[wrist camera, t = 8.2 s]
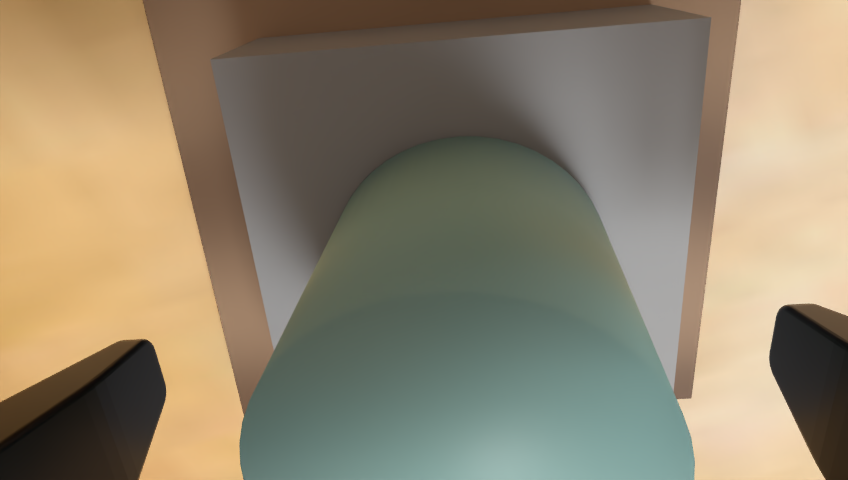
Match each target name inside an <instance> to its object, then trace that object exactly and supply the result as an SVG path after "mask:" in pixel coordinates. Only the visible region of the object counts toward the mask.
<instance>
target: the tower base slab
mask: <svg viewBox="0 0 848 480" xmlns="http://www.w3.org/2000/svg"><path fill="white" fill-rule="evenodd" d="M143 3H144V8H145V12H146V16H147V20H148V24H149V28H150V32H151V36H152V40H153V44H154V49H155V53H156V57H157V61H158V65H159V69H160V73H161V77H162V81H163V85H164V90H165V94H166V98H167V102H168V106H169V110H170V114H171V118H172V122H173V126H174V131H175V135H176V139H177V143H178V147H179V151H180V155H181V159H182V163H183V167H184V172H185V176H186V180H187V184H188V188H189V192H190V196H191V200H192V204H193V208H194V213H195V217H196V221H197V225H198V229H199V233H200V237H201V241H202V245H203V249H204V253H205V258H206V262H207V266H208V270H209V274H210V278H211V282H212V286H213V290H214V294H215V299H216V303H217V307H218V311H219V315H220V319H221V323H222V327H223V331H224V335H225V340H226V344H227V348H228V352H229V356H230V360H231V364H232V368H233V372H234V376H235V381H236V385H237V389H238V393H239V397H240V401H241V405H242V409H243V413H244V415H245V412H246V409H247V406H248V403H249V400H250V398H251V396H252V394H253V392H254V390H255V388H256V386H257V384H258V382H259V380H260V378H261V376H262V374H263V372H264V370H265V368H266V366H267V364H268V362H269V360H270V358H271V356H272V354H273V352H274V349H273V345H272V340H271V336H270V331H269V326H268V322H267V317H266V313H265V308H264V304H263V299H262V294H261V290H260V285H259V281H258V276H257V272H256V267H255V262H254V258H253V253H252V249H251V244H250V240H249V235H248V230H247V226H246V221H245V217H244V212H243V208H242V203H241V198H240V194H239V189H238V185H237V180H236V176H235V171H234V166H233V162H232V157H231V153H230V148H229V144H228V139H227V134H226V130H225V125H224V121H223V116H222V112H221V107H220V102H219V98H218V93H217V89H216V84H215V80H214V75H213V70H212V66H211V61H210V59H213V58H215V57H217V56H219V55H222V54H224V53H226V52H229V51H231V50H233V49H235V48H238V47H240V46H242V45H244V44H247V43H249V42H251V41H254V40H256V39H258V38H266V37H278V36H289V35H301V34H313V33H324V32H336V31H348V30H359V29H371V28H383V27H394V26H406V25H418V24H429V23H441V22H452V21H464V20H476V19H487V18H499V17H511V16H522V15H534V14H546V13H557V12H569V11H580V10H592V9H604V8H615V7H627V6H639V5H650V4H652V5H657V6H661V7H666V8H671V9H675V10H680V11H685V12H689V13H694V14H699V15H703V16H708V17H711V27H710V37H709V47H708V57H707V67H706V76H705V86H704V96H703V106H702V116H701V126H700V136H699V145H698V155H697V165H696V175H695V185H694V195H693V205H692V215H691V224H690V234H689V244H688V254H687V264H686V274H685V284H684V293H683V303H682V313H681V323H680V333H679V343H678V353H677V363H676V372H675V382H674V394H675V397H676V399H686V398H691V396H692V388H693V380H694V372H695V364H696V356H697V348H698V340H699V332H700V324H701V316H702V308H703V300H704V292H705V284H706V276H707V268H708V260H709V253H710V245H711V237H712V229H713V221H714V213H715V205H716V197H717V189H718V181H719V173H720V165H721V157H722V149H723V141H724V133H725V125H726V117H727V109H728V101H729V93H730V85H731V77H732V69H733V61H734V53H735V45H736V37H737V29H738V21H739V13H740V5H741V0H143Z"/></svg>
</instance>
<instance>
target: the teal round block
mask: <svg viewBox="0 0 848 480" xmlns="http://www.w3.org/2000/svg"><path fill="white" fill-rule="evenodd" d="M240 465H241V469H242V474H243V479H244V480H694V467H695V460H694V453H693V447H692V440H691V436H690V433H689V430H688V427H687V425H686V422H685V419H684V416H683V413H682V411H681V409H680V406H679V404H678V401H677V399H676V397H675V394H674V392H673V390H672V387H671V385H670V382H669V380H668V378H667V375H666V373H665V371H664V368H663V366H662V363H661V361H660V359H659V356H658V354H657V352H656V349H655V347H654V344H653V342H652V340H651V337H650V335H649V333H648V330H647V328H646V325H645V323H644V321H643V318H642V316H641V314H640V311H639V309H638V306H637V304H636V302H635V299H634V297H633V295H632V292H631V290H630V287H629V285H628V283H627V280H626V278H625V276H624V273H623V271H622V268H621V266H620V264H619V261H618V259H617V257H616V254H615V252H614V249H613V247H612V245H611V242H610V240H609V238H608V235H607V233H606V230H605V228H604V226H603V223H602V221H601V219H600V216H599V214H598V212H597V210H596V208H595V206H594V205H593V203H592V201H591V199H590V198H589V196H588V195H587V194H586V192H585V191H584V190H583V188H582V187H581V186H580V184H579V183H578V182H577V181H576V180H575V179H574V178H573V177H572V176H571V175H570V174H569V173H568V172H567V171H566V170H564V169H563V168H562V167H560V166H559V165H558V164H556V163H555V162H554V161H552V160H551V159H549V158H547V157H545V156H543V155H542V154H540V153H538V152H536V151H534V150H532V149H529V148H527V147H524V146H522V145H519V144H517V143H513V142H509V141H505V140H501V139H496V138H488V137H480V136H458V137H451V138H443V139H437V140H434V141H430V142H426V143H422V144H419V145H417V146H414V147H412V148H409V149H407V150H405V151H402V152H401V153H399V154H397V155H395V156H394V157H392V158H390V159H389V160H387V161H385V162H384V163H383V164H382V165H380V166H379V167H378V168H376V169H375V170H374V171H373V172H372V173H371V174H370V175H369V176H368V177H367V178H366V179H365V180H364V181H363V182H362V183H361V184H360V185H359V187H358V188H357V189H356V191H355V192H354V193H353V195H352V196H351V198H350V199H349V201H348V203H347V205H346V207H345V209H344V211H343V213H342V215H341V217H340V219H339V221H338V223H337V225H336V227H335V229H334V231H333V233H332V235H331V237H330V239H329V241H328V243H327V245H326V247H325V249H324V251H323V253H322V255H321V257H320V259H319V261H318V263H317V265H316V267H315V269H314V271H313V273H312V275H311V277H310V279H309V281H308V283H307V285H306V287H305V289H304V291H303V293H302V295H301V297H300V299H299V301H298V303H297V305H296V307H295V309H294V311H293V313H292V316H291V318H290V320H289V322H288V324H287V326H286V328H285V330H284V332H283V334H282V336H281V338H280V340H279V342H278V344H277V346H276V348H275V350H274V352H273V354H272V356H271V358H270V360H269V362H268V364H267V366H266V368H265V370H264V372H263V374H262V376H261V378H260V380H259V382H258V384H257V386H256V388H255V390H254V392H253V394H252V396H251V398H250V400H249V403H248V406H247V409H246V412H245V415H244V419H243V422H242V429H241V436H240Z"/></svg>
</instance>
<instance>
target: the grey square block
mask: <svg viewBox="0 0 848 480" xmlns="http://www.w3.org/2000/svg"><path fill="white" fill-rule="evenodd" d="M710 27H711V17H708V16H703V15H699V14H694V13H689V12H685V11H680V10H675V9H671V8H666V7H661V6H657V5H652V4H650V5H639V6H627V7H615V8H604V9H592V10H580V11H569V12H557V13H546V14H534V15H522V16H511V17H499V18H487V19H476V20H464V21H452V22H441V23H429V24H418V25H406V26H394V27H383V28H371V29H359V30H348V31H336V32H324V33H313V34H301V35H289V36H278V37H266V38H258V39H256V40H254V41H251V42H249V43H247V44H244V45H242V46H240V47H238V48H235V49H233V50H231V51H229V52H226V53H224V54H222V55H219V56H217V57H215V58H213V59H210V61H211V66H212V70H213V75H214V80H215V84H216V89H217V93H218V98H219V102H220V107H221V112H222V116H223V121H224V125H225V130H226V134H227V139H228V144H229V148H230V153H231V157H232V162H233V166H234V171H235V176H236V180H237V185H238V189H239V194H240V198H241V203H242V208H243V212H244V217H245V221H246V226H247V230H248V235H249V240H250V244H251V249H252V253H253V258H254V262H255V267H256V272H257V276H258V281H259V285H260V290H261V294H262V299H263V304H264V308H265V313H266V317H267V322H268V326H269V331H270V336H271V340H272V345H273V349H274V350H275V348H276V346H277V344H278V342H279V340H280V338H281V336H282V334H283V332H284V330H285V328H286V326H287V324H288V322H289V320H290V318H291V316H292V313H293V311H294V309H295V307H296V305H297V303H298V301H299V299H300V297H301V295H302V293H303V291H304V289H305V287H306V285H307V283H308V281H309V279H310V277H311V275H312V273H313V271H314V269H315V267H316V265H317V263H318V261H319V259H320V257H321V255H322V253H323V251H324V249H325V247H326V245H327V243H328V241H329V239H330V237H331V235H332V233H333V231H334V229H335V227H336V225H337V223H338V221H339V219H340V217H341V215H342V213H343V211H344V209H345V207H346V205H347V203H348V201H349V199H350V198H351V196H352V195H353V193H354V192H355V191H356V189H357V188H358V187H359V185H360V184H361V183H362V182H363V181H364V180H365V179H366V178H367V177H368V176H369V175H370V174H371V173H372V172H373V171H374V170H375V169H376V168H378V167H379V166H380V165H382V164H383V163H384V162H385V161H387V160H389V159H390V158H392V157H394V156H395V155H397V154H399V153H401V152H402V151H405V150H407V149H409V148H412V147H414V146H417V145H419V144H422V143H426V142H430V141H434V140H437V139H443V138H451V137H458V136H480V137H488V138H496V139H501V140H505V141H509V142H513V143H517V144H519V145H522V146H524V147H527V148H529V149H532V150H534V151H536V152H538V153H540V154H542V155H543V156H545V157H547V158H549V159H551V160H552V161H554V162H555V163H556V164H558V165H559V166H560V167H562V168H563V169H564V170H566V171H567V172H568V173H569V174H570V175H571V176H572V177H573V178H574V179H575V180H576V181H577V182H578V183H579V184H580V186H581V187H582V188H583V190H584V191H585V192H586V194H587V195H588V196H589V198H590V199H591V201H592V203H593V205H594V206H595V208H596V210H597V212H598V214H599V216H600V219H601V221H602V223H603V226H604V228H605V230H606V233H607V235H608V238H609V240H610V242H611V245H612V247H613V249H614V252H615V254H616V257H617V259H618V261H619V264H620V266H621V268H622V271H623V273H624V276H625V278H626V280H627V283H628V285H629V287H630V290H631V292H632V295H633V297H634V299H635V302H636V304H637V306H638V309H639V311H640V314H641V316H642V318H643V321H644V323H645V325H646V328H647V330H648V333H649V335H650V337H651V340H652V342H653V344H654V347H655V349H656V352H657V354H658V356H659V359H660V361H661V363H662V366H663V368H664V371H665V373H666V375H667V378H668V380H669V382H670V385H671V387H672V390H673V392H674V382H675V372H676V363H677V353H678V343H679V333H680V323H681V313H682V303H683V293H684V284H685V274H686V264H687V254H688V244H689V234H690V224H691V215H692V205H693V195H694V185H695V175H696V165H697V155H698V145H699V136H700V126H701V116H702V106H703V96H704V86H705V76H706V67H707V57H708V47H709V37H710Z"/></svg>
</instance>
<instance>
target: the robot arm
mask: <svg viewBox="0 0 848 480" xmlns="http://www.w3.org/2000/svg"><path fill="white" fill-rule="evenodd" d="M769 360H770V367H771V370H772V373H773V375H774V377H775V379H776V382H777V384H778V386H779V388H780V390H781V392H782V394H783V396H784V398H785V400H786V402H787V405H788V407H789V409H790V411H791V413H792V415H793V417H794V419H795V421H796V423H797V425H798V427H799V430H800V432H801V434H802V436H803V438H804V440H805V442H806V444H807V446H808V448H809V450H810V452H811V454H812V456H813V458H814V460H815V462H816V464H817V466H818V468H819V469H820V471H821V473H822V474H823V476H824V478H825V479H826V480H848V316H846V315H843V314H841V313H838V312H835V311H832V310H830V309H827V308H824V307H822V306H819V305H816V304H792V305H784V306H783V307H782V308H780V309H779V311H778V313H777V316H776V321H775V327H774V332H773V338H772V343H771V349H770V356H769ZM165 398H166V386H165V381H164V378H163V375H162V372H161V368H160V365H159V362H158V358H157V355H156V352H155V349H154V346H153V345H152V343H151V342H149V341H148V340H146V339H137V340H122V341H118V342H116V343H114V344H112V345H110V346H108V347H107V348H105V349H103V350H101V351H99V352H97V353H95V354H93V355H91V356H89V357H87V358H85V359H83V360H81V361H79V362H77V363H75V364H74V365H72V366H70V367H68V368H66V369H64V370H62V371H60V372H58V373H56V374H54V375H52V376H50V377H48V378H46V379H44V380H42V381H41V382H39V383H37V384H35V385H33V386H31V387H29V388H27V389H25V390H23V391H21V392H19V393H17V394H15V395H13V396H11V397H10V398H8V399H6V400H4V401H2V402H0V480H139V477H140V474H141V471H142V468H143V465H144V462H145V459H146V456H147V453H148V450H149V448H150V445H151V442H152V439H153V436H154V433H155V430H156V427H157V424H158V421H159V418H160V415H161V412H162V409H163V406H164V403H165Z"/></svg>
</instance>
